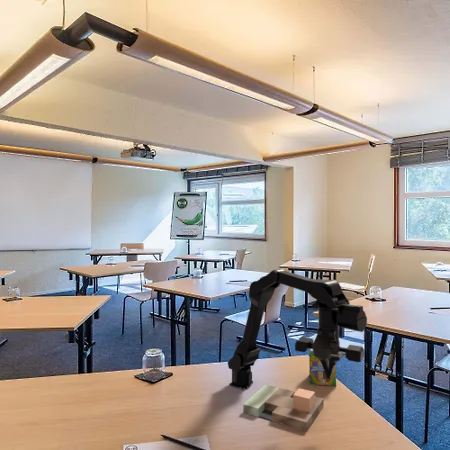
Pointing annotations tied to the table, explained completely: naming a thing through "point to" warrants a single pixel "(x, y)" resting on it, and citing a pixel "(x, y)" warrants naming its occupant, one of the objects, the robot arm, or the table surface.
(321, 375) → the chalk box
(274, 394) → the trap board
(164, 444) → the table surface
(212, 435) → the table surface
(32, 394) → the table surface
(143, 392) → the table surface
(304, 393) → the terracotta block
